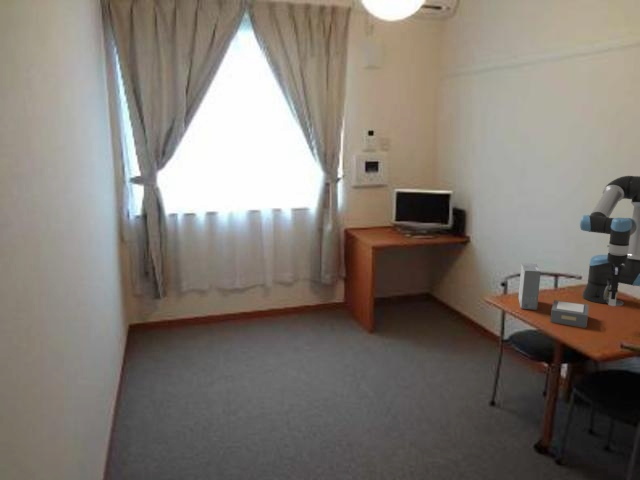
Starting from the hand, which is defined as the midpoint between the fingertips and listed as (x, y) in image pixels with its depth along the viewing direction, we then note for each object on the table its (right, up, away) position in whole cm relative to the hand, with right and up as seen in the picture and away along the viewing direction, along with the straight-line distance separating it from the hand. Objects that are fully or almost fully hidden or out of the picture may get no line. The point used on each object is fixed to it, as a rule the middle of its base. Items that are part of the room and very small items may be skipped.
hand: (611, 302), depth 226 cm
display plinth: (-14, -9, +11) cm, 20 cm away
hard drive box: (-25, -5, +31) cm, 40 cm away
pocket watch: (0, -1, 0) cm, 1 cm away
